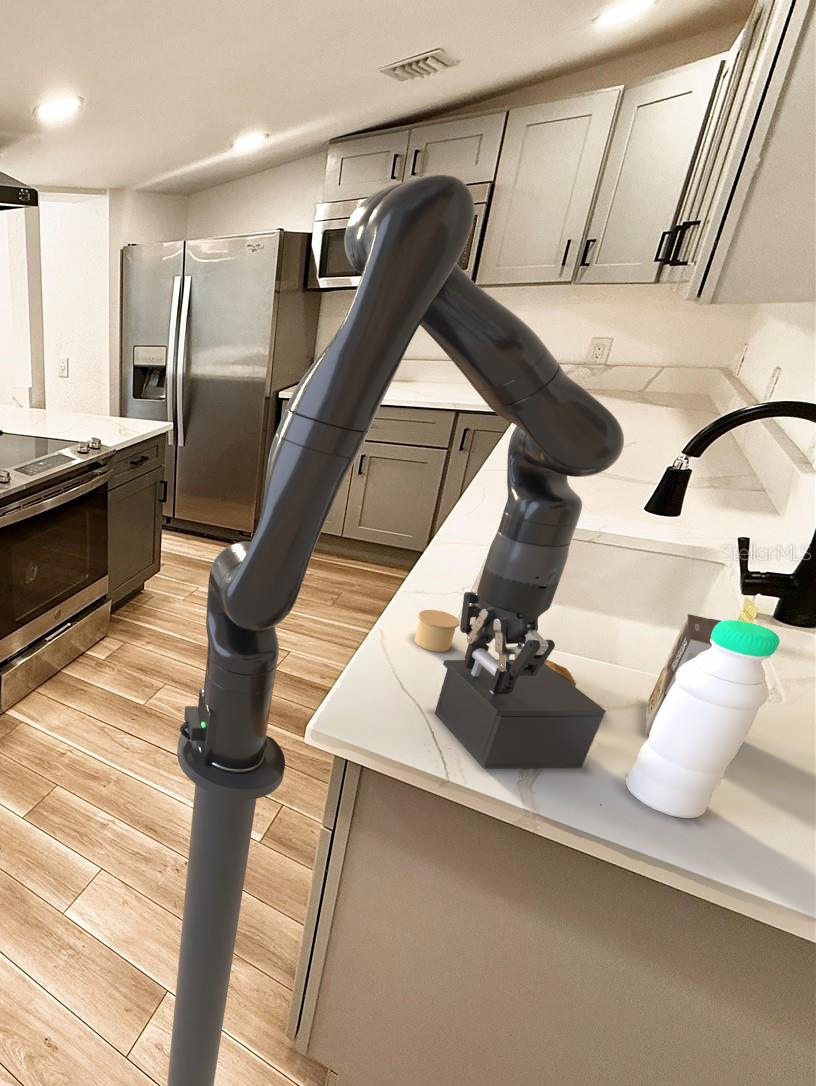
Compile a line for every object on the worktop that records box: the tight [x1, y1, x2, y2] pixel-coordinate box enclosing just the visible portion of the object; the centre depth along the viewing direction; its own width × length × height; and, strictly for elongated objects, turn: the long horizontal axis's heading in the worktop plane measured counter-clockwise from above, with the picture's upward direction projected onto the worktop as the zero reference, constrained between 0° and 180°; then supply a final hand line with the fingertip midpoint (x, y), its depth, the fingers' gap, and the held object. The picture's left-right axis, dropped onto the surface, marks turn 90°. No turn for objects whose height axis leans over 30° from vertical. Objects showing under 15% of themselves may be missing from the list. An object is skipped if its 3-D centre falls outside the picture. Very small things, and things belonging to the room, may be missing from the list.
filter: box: [414, 609, 460, 653], centre depth 109 cm, size 6×6×5 cm
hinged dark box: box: [434, 668, 604, 770], centre depth 86 cm, size 13×12×9 cm
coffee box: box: [644, 613, 722, 736], centre depth 85 cm, size 9×6×16 cm
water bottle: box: [625, 619, 781, 819], centre depth 72 cm, size 7×7×25 cm
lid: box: [442, 648, 607, 717], centre depth 83 cm, size 13×12×5 cm
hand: (485, 679), depth 84 cm, fingers closed on lid, 5 cm apart
